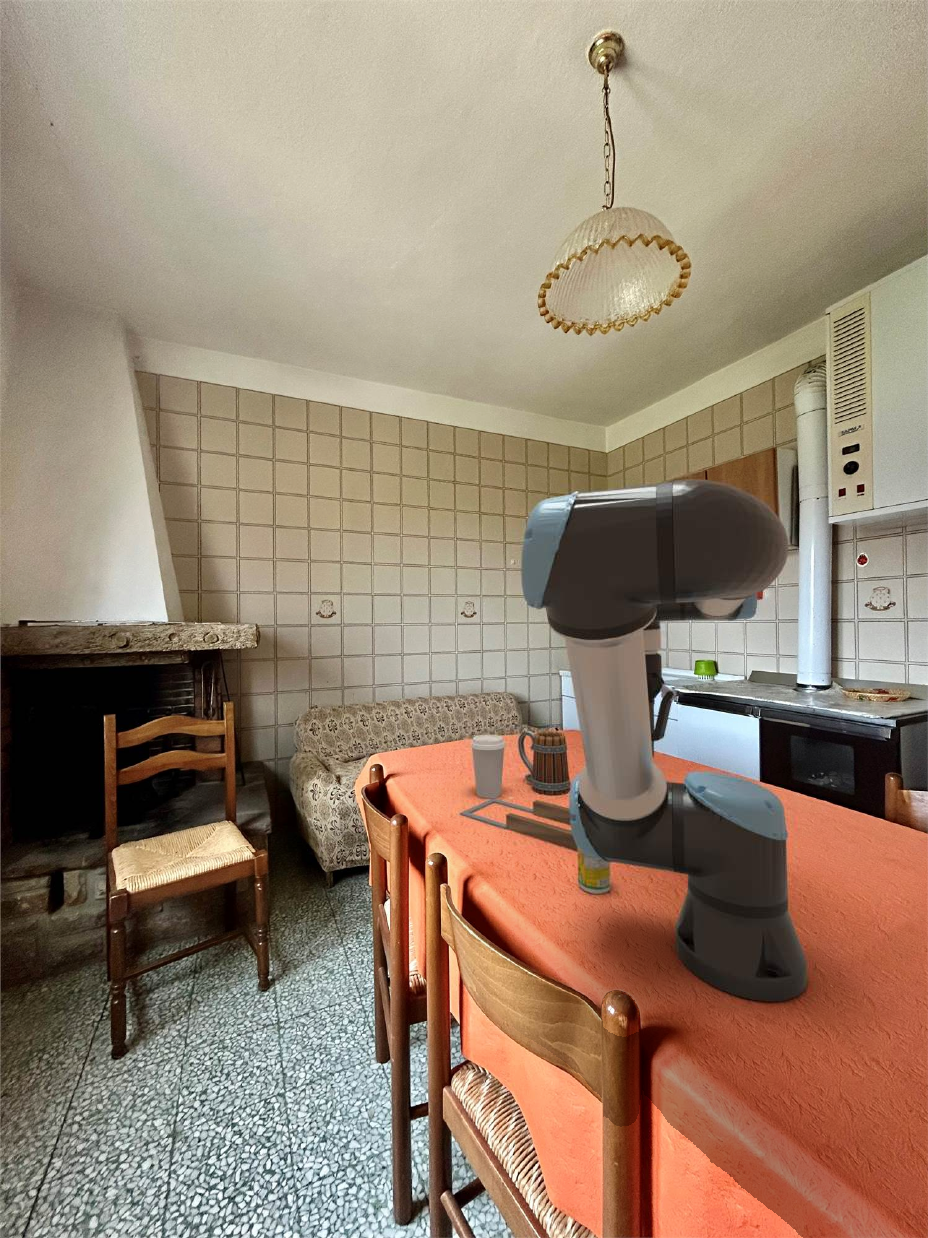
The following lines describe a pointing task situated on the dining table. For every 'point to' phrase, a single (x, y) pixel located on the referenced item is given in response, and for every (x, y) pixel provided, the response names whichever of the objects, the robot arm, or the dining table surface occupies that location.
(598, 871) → the supplement bottle
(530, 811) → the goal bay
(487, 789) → the coffee cup
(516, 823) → the chute
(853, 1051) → the dining table surface
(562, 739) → the mug
